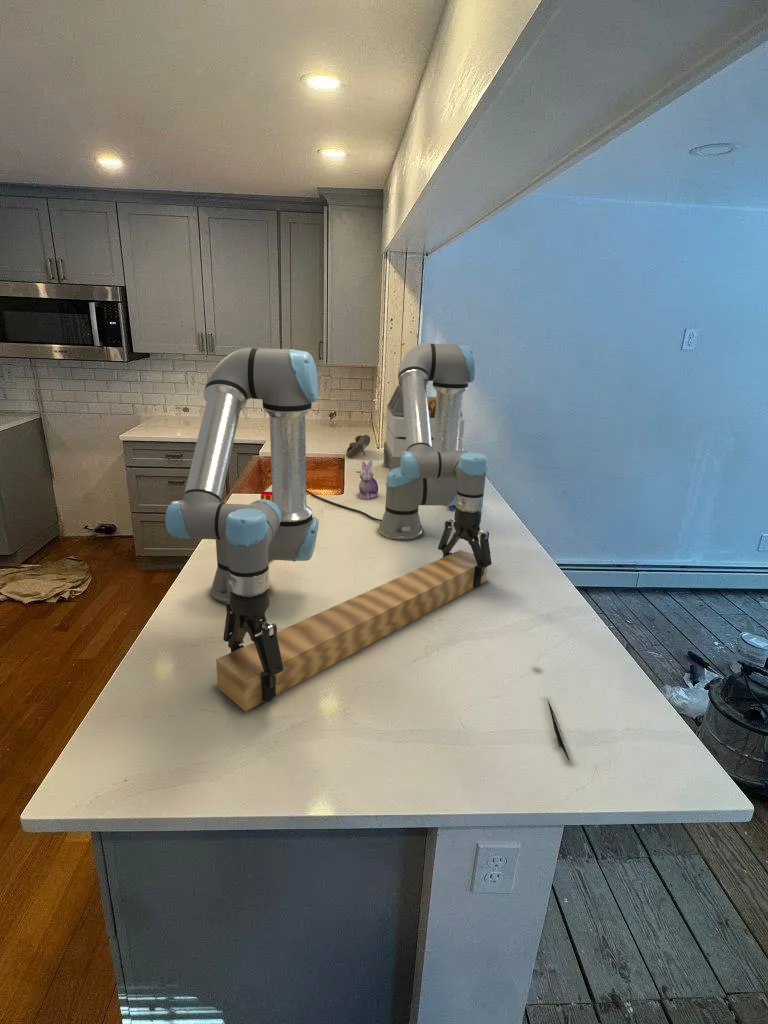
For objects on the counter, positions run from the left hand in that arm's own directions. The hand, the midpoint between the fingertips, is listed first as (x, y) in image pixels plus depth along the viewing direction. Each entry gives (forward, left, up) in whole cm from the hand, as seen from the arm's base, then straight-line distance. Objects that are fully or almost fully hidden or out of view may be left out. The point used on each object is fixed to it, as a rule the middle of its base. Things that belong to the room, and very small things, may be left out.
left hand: (253, 685), depth 117 cm
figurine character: (-100, +87, -1) cm, 132 cm away
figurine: (-118, +56, -1) cm, 130 cm away
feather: (+21, +57, -1) cm, 60 cm away
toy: (-99, +17, -1) cm, 101 cm away
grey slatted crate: (-148, +90, -1) cm, 173 cm away
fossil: (-188, +70, -1) cm, 201 cm away
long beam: (-18, +31, -1) cm, 36 cm away
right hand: (-36, +63, 0) cm, 72 cm away
